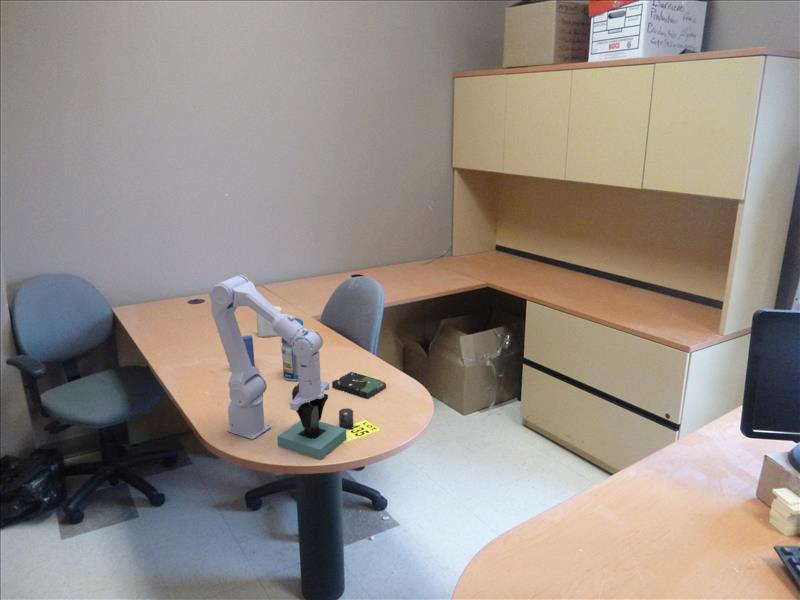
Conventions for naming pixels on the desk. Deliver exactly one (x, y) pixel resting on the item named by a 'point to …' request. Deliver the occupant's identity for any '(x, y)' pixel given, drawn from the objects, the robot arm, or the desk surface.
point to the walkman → (249, 348)
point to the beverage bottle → (289, 359)
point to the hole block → (313, 448)
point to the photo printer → (265, 325)
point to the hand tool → (295, 391)
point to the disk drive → (359, 385)
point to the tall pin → (313, 423)
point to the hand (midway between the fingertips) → (311, 423)
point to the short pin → (346, 418)
